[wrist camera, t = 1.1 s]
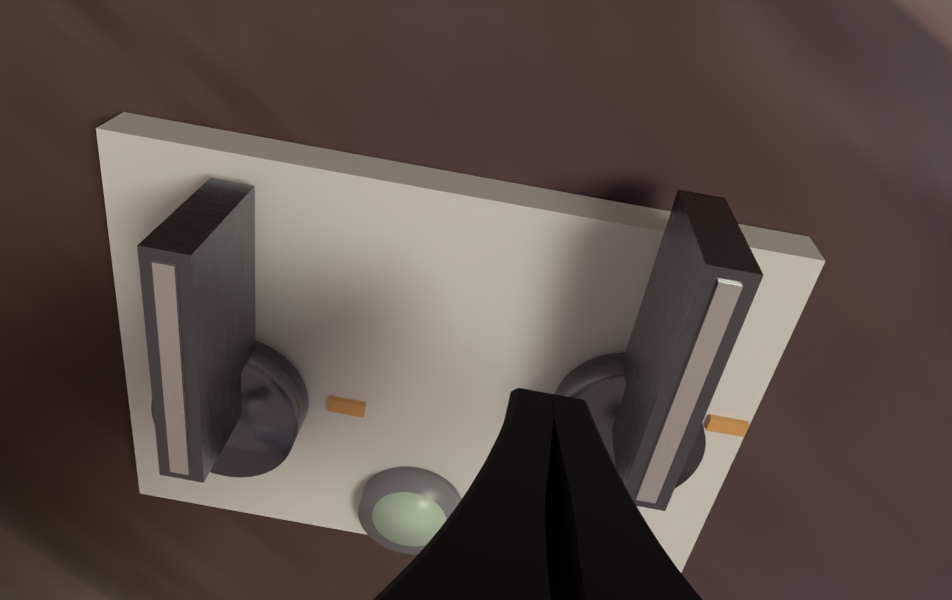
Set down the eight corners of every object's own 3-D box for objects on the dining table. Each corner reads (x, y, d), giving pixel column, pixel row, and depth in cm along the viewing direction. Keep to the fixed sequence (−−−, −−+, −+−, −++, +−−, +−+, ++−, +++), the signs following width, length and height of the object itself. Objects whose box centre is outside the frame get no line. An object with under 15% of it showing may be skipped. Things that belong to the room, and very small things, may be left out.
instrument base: (667, 557, 28) (676, 608, 26) (158, 464, 28) (129, 508, 26) (809, 237, 21) (834, 274, 19) (123, 112, 21) (80, 137, 19)
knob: (672, 474, 24) (695, 593, 20) (538, 450, 24) (536, 563, 20) (783, 202, 19) (842, 291, 15) (614, 172, 19) (629, 252, 15)
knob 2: (306, 453, 25) (261, 562, 21) (178, 430, 25) (109, 534, 21) (318, 190, 20) (261, 270, 16) (157, 161, 20) (62, 234, 16)
